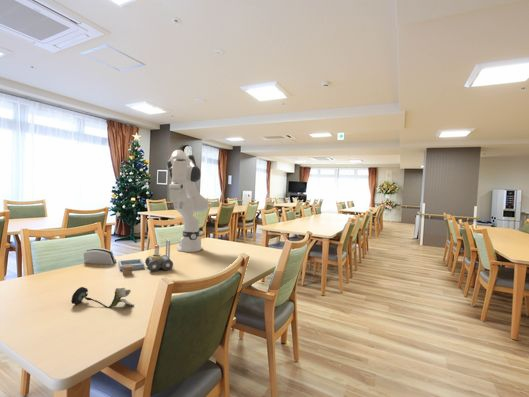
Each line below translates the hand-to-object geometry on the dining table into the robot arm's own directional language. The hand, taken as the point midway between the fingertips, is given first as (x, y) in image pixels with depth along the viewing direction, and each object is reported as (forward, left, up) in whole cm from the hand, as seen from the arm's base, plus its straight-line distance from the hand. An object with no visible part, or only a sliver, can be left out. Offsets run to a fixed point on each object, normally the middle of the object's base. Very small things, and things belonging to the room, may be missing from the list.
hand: (178, 209), depth 160 cm
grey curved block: (-20, -39, -34) cm, 56 cm away
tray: (-6, -24, -34) cm, 42 cm away
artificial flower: (+42, -37, -34) cm, 66 cm away
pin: (+2, -12, -28) cm, 30 cm away
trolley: (+2, -10, -34) cm, 35 cm away
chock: (+6, -27, -34) cm, 44 cm away
